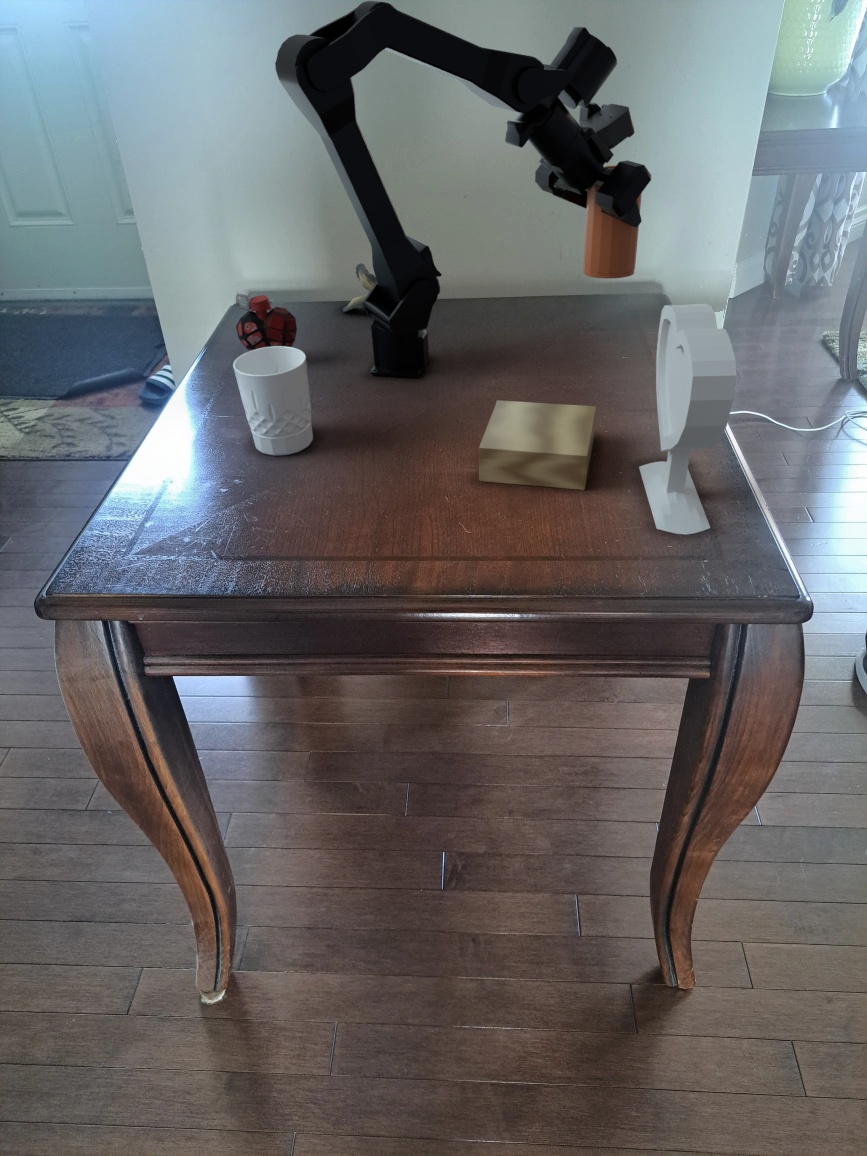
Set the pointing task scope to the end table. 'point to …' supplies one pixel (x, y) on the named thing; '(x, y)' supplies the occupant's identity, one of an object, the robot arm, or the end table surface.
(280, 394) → the white cup
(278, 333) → the grenade
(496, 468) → the birch block
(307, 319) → the end table surface
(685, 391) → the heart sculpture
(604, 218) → the jar
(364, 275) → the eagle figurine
